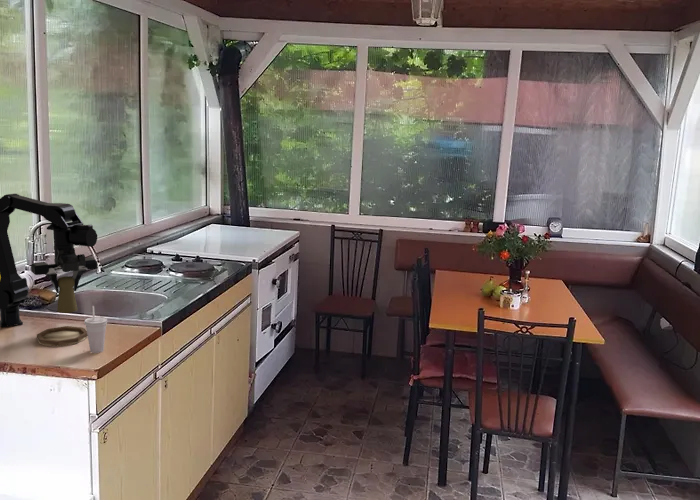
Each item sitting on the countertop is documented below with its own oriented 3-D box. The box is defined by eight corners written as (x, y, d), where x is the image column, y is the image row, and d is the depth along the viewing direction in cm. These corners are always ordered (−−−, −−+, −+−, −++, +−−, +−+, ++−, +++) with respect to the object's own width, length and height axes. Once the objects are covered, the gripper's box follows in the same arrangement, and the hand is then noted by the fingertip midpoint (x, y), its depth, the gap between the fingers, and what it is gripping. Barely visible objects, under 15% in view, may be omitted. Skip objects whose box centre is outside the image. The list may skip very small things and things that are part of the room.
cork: (81, 307, 209) (79, 275, 207) (71, 313, 203) (70, 279, 201) (63, 306, 210) (61, 274, 207) (53, 312, 204) (51, 278, 202)
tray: (33, 335, 203) (33, 330, 202) (80, 328, 211) (80, 323, 210) (43, 349, 192) (43, 344, 191) (92, 341, 200) (91, 336, 200)
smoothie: (85, 348, 194) (83, 303, 191) (108, 346, 196) (106, 302, 193) (85, 355, 188) (83, 309, 185) (108, 353, 190) (106, 308, 188)
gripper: (37, 251, 190) (41, 302, 193) (102, 246, 202) (104, 293, 205) (29, 245, 199) (32, 293, 202) (91, 240, 210) (93, 286, 213)
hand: (66, 292), depth 205 cm, fingers closed on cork, 5 cm apart
